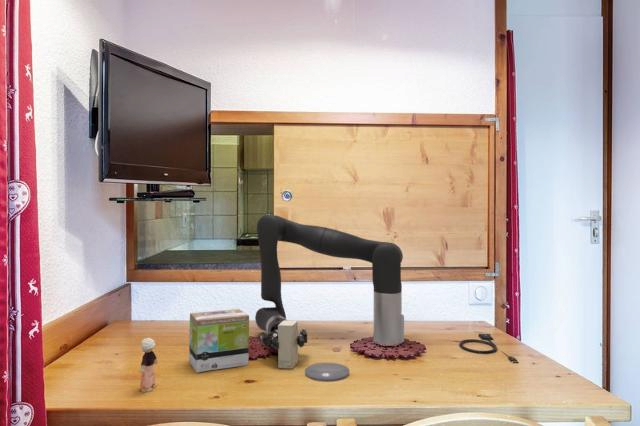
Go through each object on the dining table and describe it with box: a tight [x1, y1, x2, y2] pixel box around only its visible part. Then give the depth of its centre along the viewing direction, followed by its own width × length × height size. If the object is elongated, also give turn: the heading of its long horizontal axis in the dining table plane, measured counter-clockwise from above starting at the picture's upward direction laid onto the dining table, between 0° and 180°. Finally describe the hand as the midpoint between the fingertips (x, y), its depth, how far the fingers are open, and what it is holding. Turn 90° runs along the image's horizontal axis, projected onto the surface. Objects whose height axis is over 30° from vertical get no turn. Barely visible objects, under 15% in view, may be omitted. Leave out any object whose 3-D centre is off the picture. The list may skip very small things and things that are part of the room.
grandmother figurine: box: [139, 337, 158, 393], centre depth 114 cm, size 8×4×13 cm, turn 5°
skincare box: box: [277, 319, 299, 369], centre depth 132 cm, size 6×4×12 cm
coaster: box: [304, 362, 350, 382], centre depth 125 cm, size 12×12×1 cm
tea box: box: [188, 308, 250, 374], centre depth 132 cm, size 15×10×15 cm
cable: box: [458, 333, 520, 364], centre depth 148 cm, size 14×28×2 cm, turn 176°
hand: (289, 344), depth 129 cm, fingers closed on skincare box, 6 cm apart
